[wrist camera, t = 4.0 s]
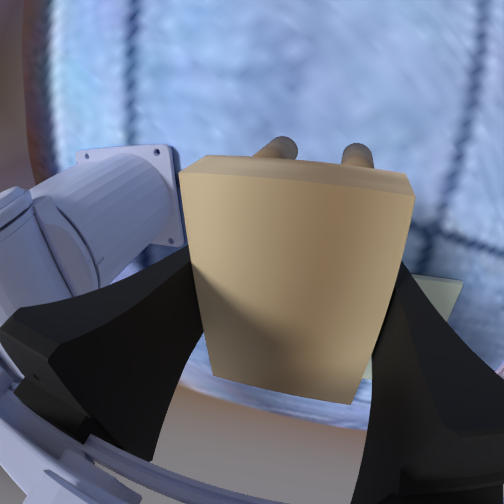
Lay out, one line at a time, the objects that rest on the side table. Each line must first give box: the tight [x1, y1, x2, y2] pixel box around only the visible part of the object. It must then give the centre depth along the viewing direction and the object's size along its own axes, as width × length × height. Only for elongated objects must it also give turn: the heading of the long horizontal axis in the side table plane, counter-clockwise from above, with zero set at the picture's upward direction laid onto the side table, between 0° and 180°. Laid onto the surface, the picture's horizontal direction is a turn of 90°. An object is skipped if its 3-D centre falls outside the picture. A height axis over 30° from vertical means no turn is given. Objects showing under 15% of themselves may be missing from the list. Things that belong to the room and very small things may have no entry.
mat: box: [362, 274, 463, 380], centre depth 23 cm, size 10×12×1 cm
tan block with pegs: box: [179, 136, 415, 405], centre depth 11 cm, size 5×8×6 cm
